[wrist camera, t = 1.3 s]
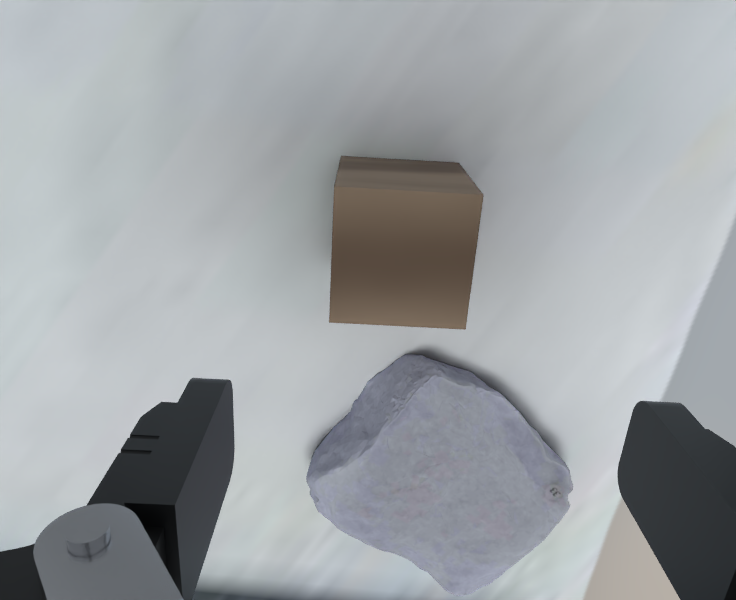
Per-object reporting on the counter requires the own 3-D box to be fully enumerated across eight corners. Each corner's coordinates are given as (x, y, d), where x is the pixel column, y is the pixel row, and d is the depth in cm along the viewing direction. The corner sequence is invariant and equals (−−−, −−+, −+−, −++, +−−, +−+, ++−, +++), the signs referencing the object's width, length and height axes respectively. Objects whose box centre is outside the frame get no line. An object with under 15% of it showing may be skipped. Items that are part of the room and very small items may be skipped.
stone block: (405, 316, 31) (291, 466, 32) (430, 347, 26) (295, 521, 27) (568, 431, 34) (459, 563, 35) (615, 477, 29) (487, 627, 30)
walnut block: (341, 155, 26) (334, 186, 20) (458, 162, 26) (483, 195, 20) (336, 266, 28) (329, 322, 22) (445, 272, 28) (465, 329, 22)
